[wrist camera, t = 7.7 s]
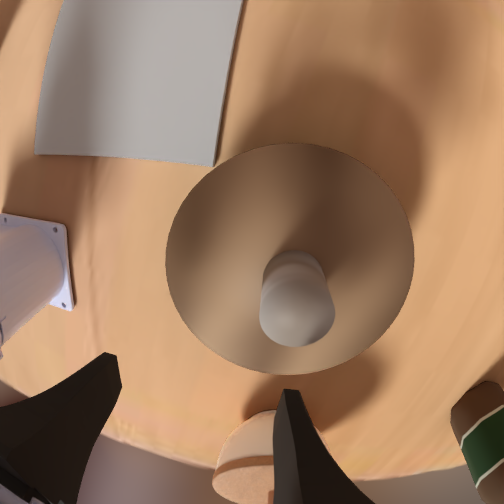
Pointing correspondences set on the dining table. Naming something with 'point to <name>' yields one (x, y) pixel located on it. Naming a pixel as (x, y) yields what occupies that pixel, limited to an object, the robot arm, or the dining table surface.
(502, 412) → the beer bottle
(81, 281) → the dining table surface
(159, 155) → the mat
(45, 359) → the dining table surface
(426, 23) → the dining table surface
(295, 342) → the lid
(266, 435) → the lidded jar
